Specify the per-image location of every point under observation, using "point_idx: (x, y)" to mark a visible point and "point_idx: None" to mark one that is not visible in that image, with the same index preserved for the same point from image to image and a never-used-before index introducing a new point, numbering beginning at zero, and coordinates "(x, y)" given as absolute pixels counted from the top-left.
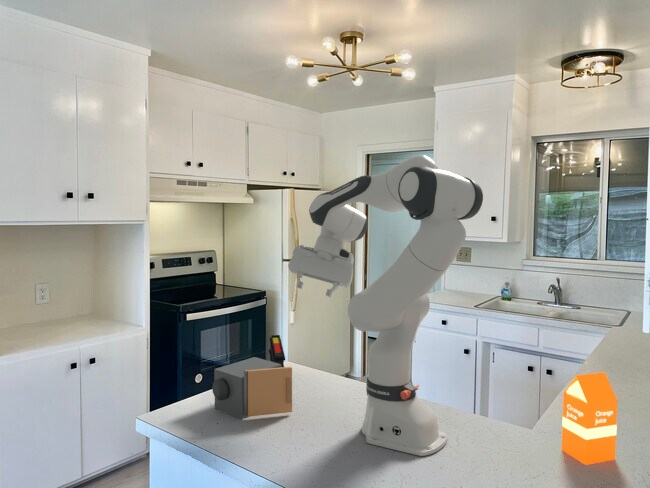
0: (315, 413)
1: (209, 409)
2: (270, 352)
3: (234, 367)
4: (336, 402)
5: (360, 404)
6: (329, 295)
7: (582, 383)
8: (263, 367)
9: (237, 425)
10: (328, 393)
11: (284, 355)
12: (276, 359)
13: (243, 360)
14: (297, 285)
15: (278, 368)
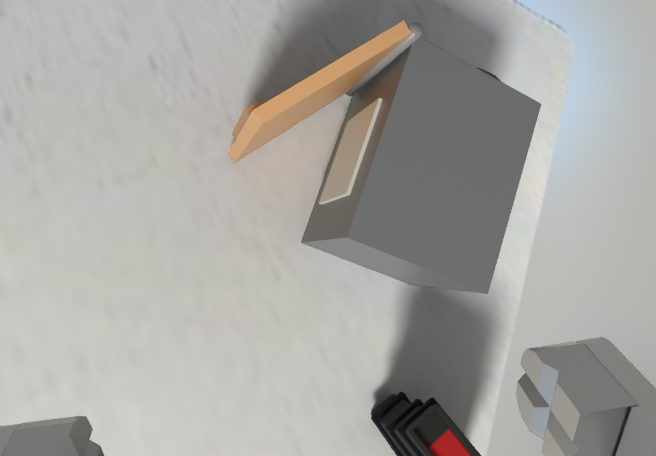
0: (155, 193)
1: None
2: None
3: (491, 141)
4: (111, 314)
5: (6, 331)
6: (17, 428)
7: None
8: (395, 172)
9: (347, 49)
10: (172, 389)
11: (411, 447)
12: (425, 402)
13: (502, 233)
14: (592, 341)
15: (305, 83)
